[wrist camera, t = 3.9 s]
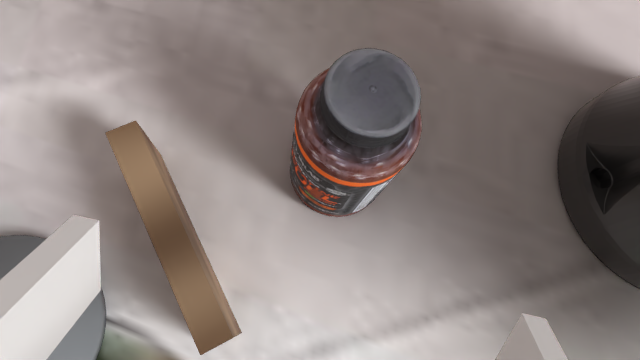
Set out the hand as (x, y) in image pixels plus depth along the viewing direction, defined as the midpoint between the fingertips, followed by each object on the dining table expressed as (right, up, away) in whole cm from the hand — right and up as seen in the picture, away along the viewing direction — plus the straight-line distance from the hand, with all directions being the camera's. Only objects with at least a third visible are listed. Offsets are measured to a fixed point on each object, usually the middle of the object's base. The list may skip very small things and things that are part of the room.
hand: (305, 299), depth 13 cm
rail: (-7, 0, +12) cm, 14 cm away
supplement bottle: (+1, +4, +15) cm, 15 cm away
